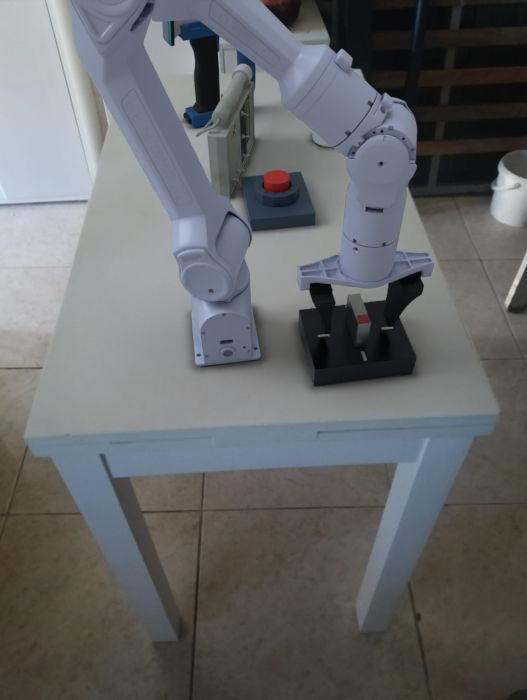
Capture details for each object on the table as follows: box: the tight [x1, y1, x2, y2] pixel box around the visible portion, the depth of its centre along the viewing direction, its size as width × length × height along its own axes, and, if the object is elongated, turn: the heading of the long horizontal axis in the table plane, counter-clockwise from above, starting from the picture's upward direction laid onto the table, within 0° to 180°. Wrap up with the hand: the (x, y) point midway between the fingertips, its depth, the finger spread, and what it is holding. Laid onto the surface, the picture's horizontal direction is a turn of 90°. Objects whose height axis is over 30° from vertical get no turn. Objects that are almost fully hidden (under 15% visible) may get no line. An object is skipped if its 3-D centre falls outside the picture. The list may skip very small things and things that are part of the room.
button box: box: [240, 171, 316, 232], centre depth 90 cm, size 12×10×4 cm
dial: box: [345, 292, 371, 348], centre depth 67 cm, size 5×2×4 cm, turn 8°
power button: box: [263, 169, 290, 193], centre depth 88 cm, size 4×4×2 cm
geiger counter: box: [195, 64, 256, 200], centre depth 96 cm, size 14×6×25 cm
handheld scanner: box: [161, 19, 256, 129], centre depth 105 cm, size 5×16×20 cm, turn 115°
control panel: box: [297, 299, 417, 387], centre depth 70 cm, size 12×10×3 cm
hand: (357, 324), depth 68 cm, fingers open, 7 cm apart
